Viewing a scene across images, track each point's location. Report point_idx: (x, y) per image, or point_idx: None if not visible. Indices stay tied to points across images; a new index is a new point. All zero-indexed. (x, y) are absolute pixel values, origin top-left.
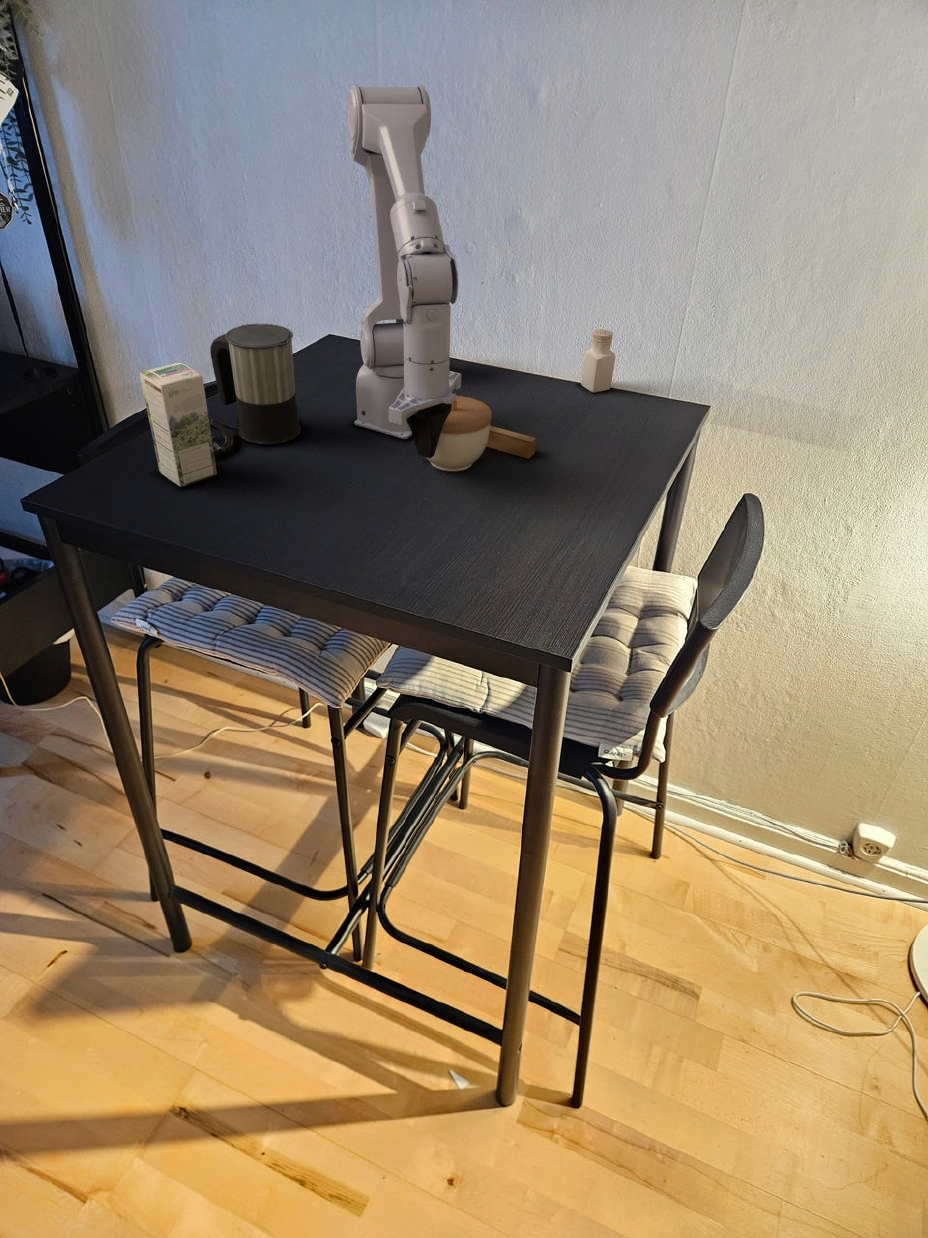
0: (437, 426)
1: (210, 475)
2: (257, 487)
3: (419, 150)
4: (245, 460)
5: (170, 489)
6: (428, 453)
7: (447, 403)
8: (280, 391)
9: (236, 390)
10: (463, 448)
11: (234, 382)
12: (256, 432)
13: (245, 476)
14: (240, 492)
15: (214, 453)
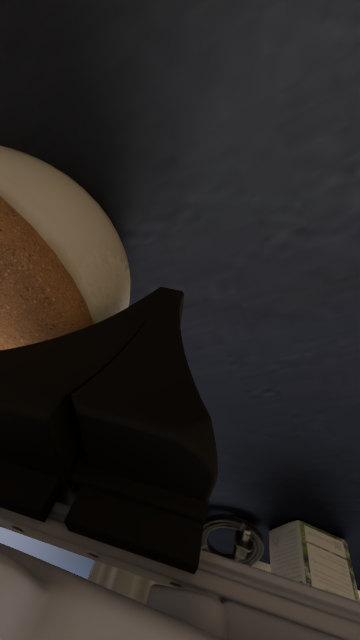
0: (136, 356)
1: (308, 525)
2: (320, 488)
3: None
4: (245, 500)
5: (351, 544)
6: (180, 306)
7: (15, 574)
8: None
9: None
10: (70, 201)
11: None
12: None
13: (290, 498)
14: (342, 500)
15: (255, 529)
